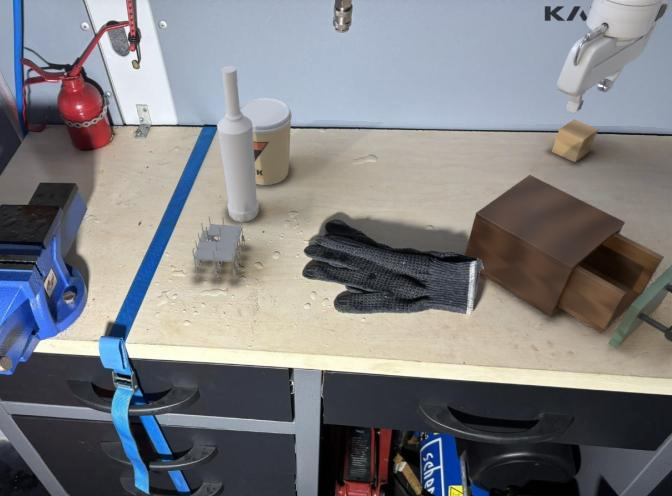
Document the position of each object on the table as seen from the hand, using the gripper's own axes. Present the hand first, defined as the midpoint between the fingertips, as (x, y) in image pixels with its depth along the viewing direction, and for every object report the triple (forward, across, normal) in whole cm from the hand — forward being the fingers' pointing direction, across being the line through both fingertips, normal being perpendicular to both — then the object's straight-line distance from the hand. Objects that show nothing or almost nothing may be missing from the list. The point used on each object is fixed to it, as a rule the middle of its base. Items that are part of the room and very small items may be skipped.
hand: (588, 99), depth 100 cm
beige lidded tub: (+11, -43, +33) cm, 55 cm away
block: (+10, 0, 0) cm, 10 cm away
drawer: (+9, -30, -24) cm, 39 cm away
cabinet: (+10, -30, -12) cm, 34 cm away
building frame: (+11, -63, +20) cm, 67 cm away
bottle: (+11, -53, +27) cm, 60 cm away
